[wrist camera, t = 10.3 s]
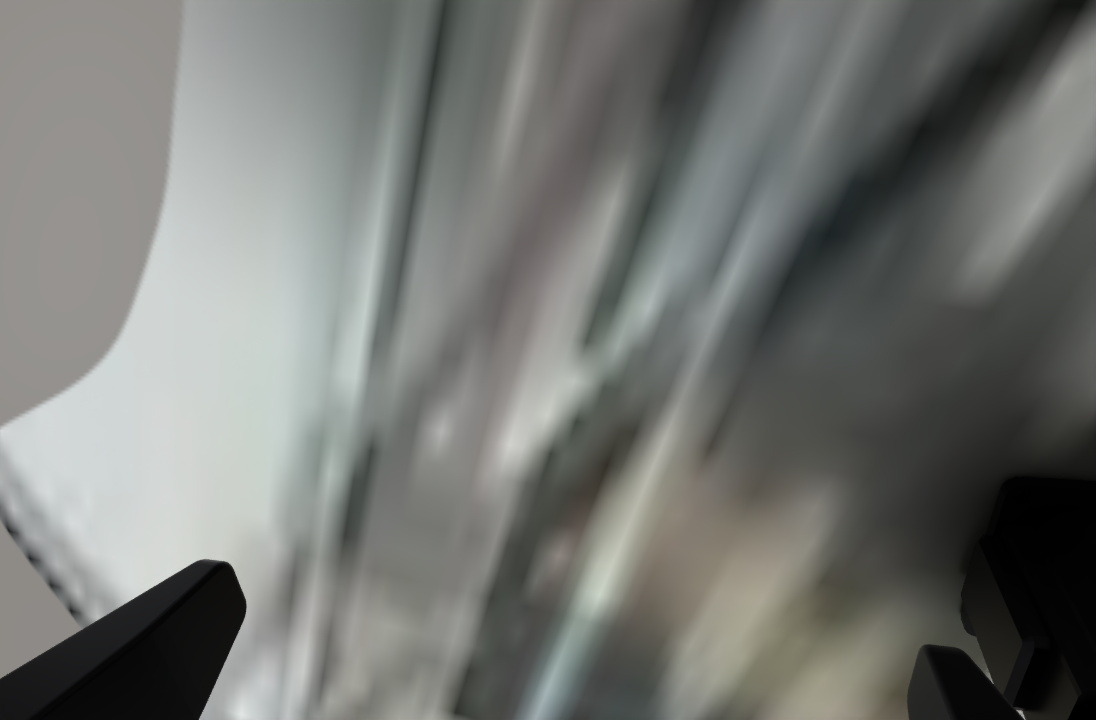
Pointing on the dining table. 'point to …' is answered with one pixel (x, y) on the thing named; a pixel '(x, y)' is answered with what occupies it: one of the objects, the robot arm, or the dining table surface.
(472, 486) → the dining table surface
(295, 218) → the dining table surface
